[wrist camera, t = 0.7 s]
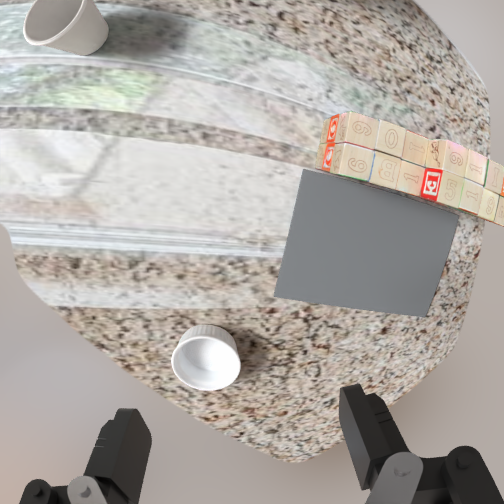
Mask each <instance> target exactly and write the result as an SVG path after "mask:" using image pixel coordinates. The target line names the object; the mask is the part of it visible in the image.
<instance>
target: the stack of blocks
mask: <svg viewBox="0 0 504 504" xmlns="http://www.w3.org/2000/svg"><path fill="white" fill-rule="evenodd" d="M315 168H316V169H320V170H323V171H327V172H330V173H334V174H338V175H342V176H346V177H350V178H353V179H357V180H361V181H365V182H368V183H372V184H375V185H378V186H382V187H386V188H389V189H393V190H397V191H401V192H404V193H407V194H410V195H414V196H417V197H420V198H422V199H425V200H428V201H431V202H434V203H436V204H439V205H442V206H444V207H447V208H450V209H453V210H456V211H459V212H464V213H467V214H470V215H472V216H475V217H478V218H481V219H484V220H486V221H489V222H493V223H495V224H498V225H501V226H503V227H504V166H502V165H500V164H498V163H496V162H494V161H492V160H490V159H487V157H486V156H484V155H481V154H479V153H477V152H475V151H473V150H471V149H468V148H466V147H464V146H462V145H459V144H457V143H455V142H453V141H450V140H448V139H428V138H426V137H424V136H421V135H419V134H416V133H414V132H411V131H409V130H406V129H405V128H403V127H401V126H398V125H395V124H393V123H390V122H387V121H384V120H381V119H378V120H377V119H375V118H372V117H369V116H366V115H363V114H359V113H356V112H353V111H349V112H346V113H343V114H337V115H335V116H332V117H330V118H328V119H325V120H324V124H323V130H322V135H321V140H320V145H319V149H318V154H317V159H316V166H315Z"/></svg>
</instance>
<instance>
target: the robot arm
mask: <svg viewBox="0 0 504 504" xmlns="http://www.w3.org/2000/svg"><path fill="white" fill-rule="evenodd" d="M339 420H340V425H341V428H342V431H343V434H344V437H345V440H346V443H347V446H348V449H349V452H350V455H351V458H352V461H353V465H354V467H355V471H356V474H357V477H358V480H359V483H360V486H361V489H362V490H366V489H369V488H370V491H371V493H370V495H369V497H368V499H367V501H366V503H365V504H504V501H503V499H502V497H501V495H500V492H499V490H498V488H497V486H496V484H495V482H494V480H493V478H492V476H491V474H490V472H489V470H488V468H487V466H486V465H485V463H484V461H483V459H482V457H481V455H480V453H479V452H478V451H477V450H476V449H475V448H473V447H470V446H459V447H457V448H455V449H453V450H452V451H451V452H450V453H449V454H448V456H445V457H436V458H421V457H418V456H417V455H415V454H413V453H411V452H410V451H409V449H408V448H407V446H406V444H405V442H404V440H403V438H402V436H401V434H400V432H399V430H398V428H397V426H396V424H395V422H394V420H393V418H392V416H391V414H390V412H389V410H388V408H387V406H386V404H385V402H384V400H383V399H381V398H380V397H379V396H378V395H376V394H375V393H372V394H368V395H365V393H364V391H363V389H362V387H361V385H360V384H355V385H351V386H346V387H342V388H340V399H339ZM151 444H152V438H151V433H150V431H149V429H148V427H147V426H146V424H145V422H144V420H143V418H142V416H141V415H140V413H139V411H138V410H137V409H124V408H123V409H122V408H121V409H118V410H117V412H116V415H115V418H114V420H109V421H108V422H107V423H106V424H105V425H104V426H103V427H102V428H101V431H100V434H99V436H98V440H97V441H96V444H95V447H94V449H93V451H92V454H91V457H90V459H89V462H88V464H87V467H86V470H85V473H84V475H83V476H80V477H77V478H75V479H73V480H72V481H71V482H70V484H69V485H67V486H56V487H51V486H50V485H49V484H48V483H47V482H46V481H44V480H41V479H36V480H32V481H31V482H30V483H28V485H27V486H26V487H25V490H24V492H23V495H22V498H21V501H20V503H19V504H138V502H139V498H140V492H141V488H142V484H143V479H144V475H145V470H146V466H147V461H148V457H149V453H150V448H151Z"/></svg>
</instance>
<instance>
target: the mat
mask: <svg viewBox="0 0 504 504" xmlns="http://www.w3.org/2000/svg"><path fill="white" fill-rule="evenodd" d="M458 218H459V215H456V214H453V213H451V212H448V211H445V210H442V209H439V208H436V207H434V206H431V205H428V204H425V203H422V202H419V201H416V200H413V199H409V198H406V197H403V196H400V195H397V194H394V193H390V192H387V191H384V190H380V189H377V188H373V187H370V186H366V185H363V184H359V183H356V182H352V181H348V180H345V179H341V178H337V177H333V176H329V175H325V174H322V173H317V172H313V171H309V170H305V169H303V172H302V177H301V181H300V186H299V190H298V195H297V199H296V204H295V208H294V212H293V217H292V221H291V225H290V230H289V234H288V238H287V242H286V247H285V251H284V255H283V259H282V263H281V267H280V272H279V276H278V280H277V284H276V288H275V292H274V297H279V298H285V299H292V300H298V301H305V302H312V303H318V304H325V305H332V306H339V307H347V308H354V309H362V310H369V311H377V312H385V313H394V314H402V315H411V316H420V317H425V316H426V314H427V311H428V309H429V306H430V304H431V301H432V299H433V296H434V294H435V291H436V288H437V285H438V283H439V280H440V277H441V274H442V271H443V268H444V265H445V262H446V259H447V256H448V253H449V250H450V246H451V243H452V240H453V236H454V233H455V229H456V226H457V222H458Z"/></svg>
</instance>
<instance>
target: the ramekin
mask: <svg viewBox="0 0 504 504" xmlns="http://www.w3.org/2000/svg"><path fill="white" fill-rule="evenodd" d="M171 363H172V368H173V371H174V373H175V374H176V376H177V377H178V378H179V379H180V380H181V381H182V382H183V383H185V384H186V385H188V386H190V387H193V388H195V389H199V390H207V391H211V390H218V389H222V388H224V387H226V386H228V385H230V384H231V383H232V382H234V381H235V379H236V378H237V377H238V375H239V373H240V369H241V362H240V358H239V355H238V352H237V346H236V343H235V341H234V339H233V337H232V336H231V335H230V334H229V333H228V332H227V331H226V330H224V329H222V328H220V327H218V326H214V325H207V324H205V325H197V326H194V327H192V328H190V329H189V330H187V331H186V332H185V333H184V334H183V336H182V337H181V339H180V341H179V344H178V346H177V347H176V348H175V350H174V352H173V355H172V360H171Z"/></svg>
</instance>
